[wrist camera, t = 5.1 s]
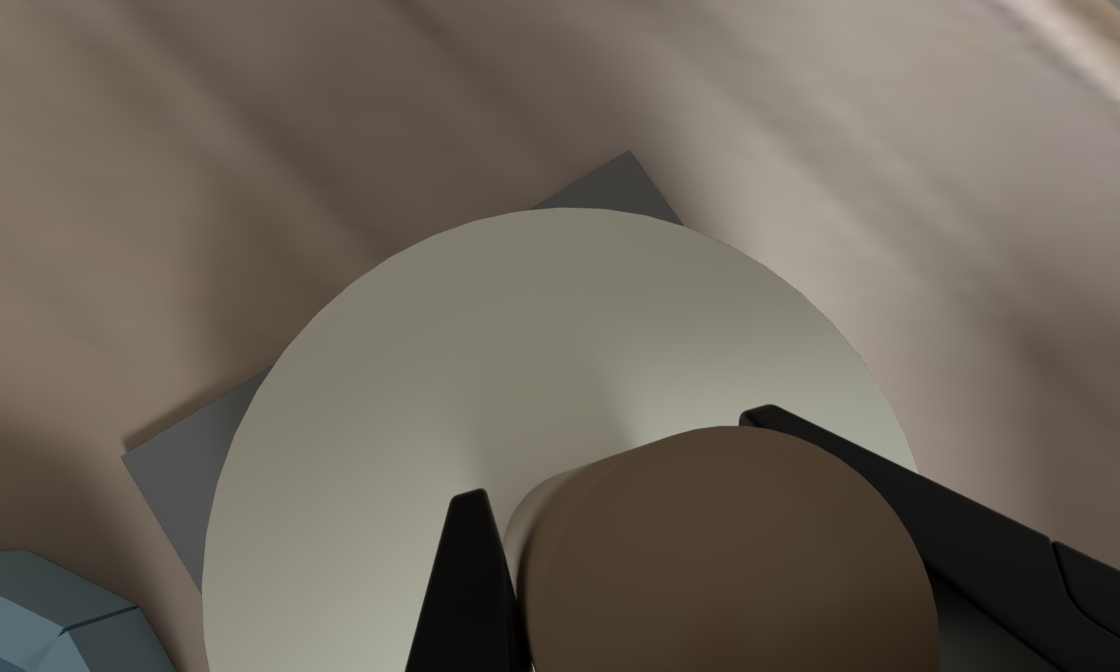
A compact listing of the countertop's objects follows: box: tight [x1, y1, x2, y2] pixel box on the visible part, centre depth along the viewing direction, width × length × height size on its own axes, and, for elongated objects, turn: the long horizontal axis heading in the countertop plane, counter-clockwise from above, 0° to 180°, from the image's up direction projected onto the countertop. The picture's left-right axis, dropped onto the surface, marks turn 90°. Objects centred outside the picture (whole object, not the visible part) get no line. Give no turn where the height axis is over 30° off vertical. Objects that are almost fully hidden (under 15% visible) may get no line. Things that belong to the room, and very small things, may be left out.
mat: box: [121, 151, 683, 594], centre depth 20 cm, size 16×16×1 cm
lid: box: [202, 208, 940, 672], centre depth 11 cm, size 14×14×10 cm
